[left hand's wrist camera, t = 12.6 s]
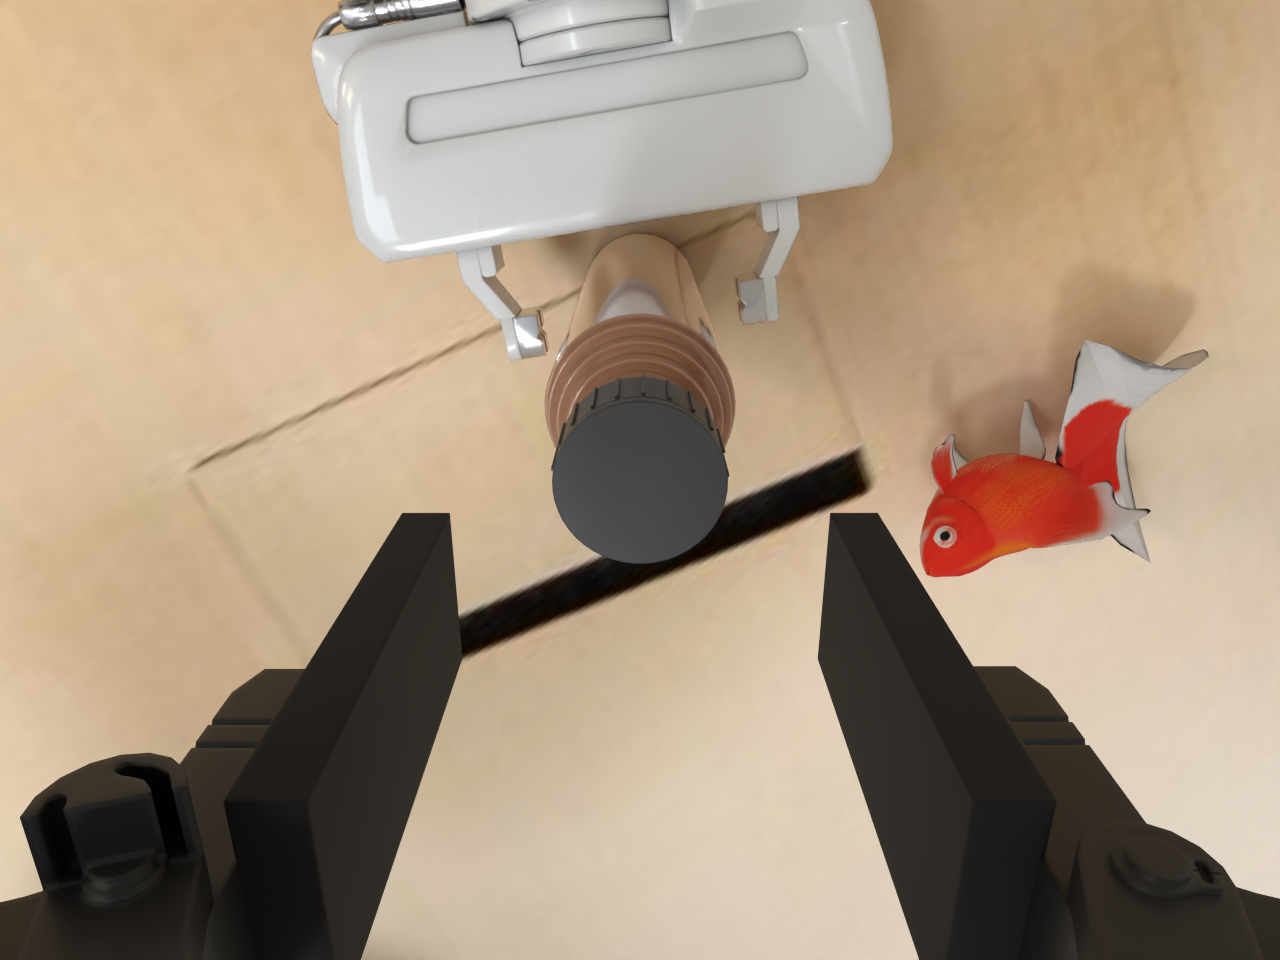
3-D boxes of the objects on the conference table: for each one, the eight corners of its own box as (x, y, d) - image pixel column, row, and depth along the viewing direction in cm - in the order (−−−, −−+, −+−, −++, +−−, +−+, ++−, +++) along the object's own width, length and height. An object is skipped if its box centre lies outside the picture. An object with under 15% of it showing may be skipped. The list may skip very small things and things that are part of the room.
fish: (849, 383, 39) (1036, 498, 32) (1099, 248, 43) (1313, 322, 36) (857, 554, 46) (1012, 680, 38) (1072, 422, 50) (1248, 513, 43)
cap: (523, 462, 21) (512, 494, 19) (630, 338, 20) (630, 359, 18) (647, 558, 22) (648, 597, 20) (756, 445, 21) (767, 476, 19)
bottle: (563, 295, 42) (472, 490, 19) (634, 209, 41) (627, 310, 18) (645, 364, 43) (651, 625, 20) (716, 283, 42) (809, 467, 19)
